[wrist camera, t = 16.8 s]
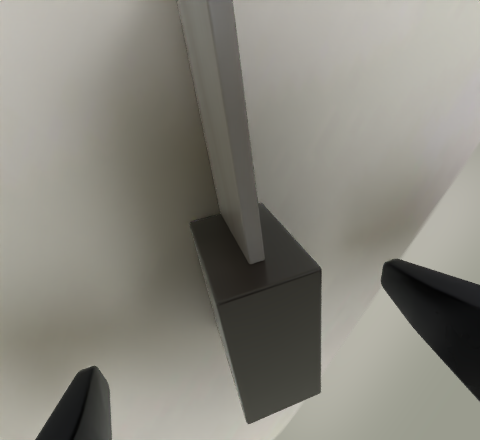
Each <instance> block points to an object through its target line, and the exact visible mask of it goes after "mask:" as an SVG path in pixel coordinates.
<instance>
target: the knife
mask: <svg viewBox="0 0 480 440" xmlns="http://www.w3.org/2000/svg"><path fill="white" fill-rule="evenodd" d="M177 5H178V9H179V14H180V19H181V24H182V29H183V34H184V39H185V44H186V49H187V53H188V58H189V63H190V68H191V73H192V78H193V83H194V88H195V92H196V97H197V102H198V107H199V112H200V117H201V122H202V127H203V132H204V136H205V141H206V146H207V151H208V156H209V161H210V166H211V171H212V175H213V180H214V185H215V190H216V195H217V200H218V205H219V210H220V213H221V214H218V215H215V216H211V217H207V218H204V219H200V220H197V221H193V222H190V229H191V232H192V236H193V240H194V243H195V247H196V250H197V254H198V258H199V261H200V265H201V269H202V272H203V276H204V279H205V283H206V287H207V290H208V294H209V298H210V301H211V305H212V309H213V312H214V316H215V319H216V323H217V327H218V330H219V334H220V337H221V340H222V343H223V347H224V350H225V353H226V356H227V360H228V363H229V366H230V370H231V373H232V376H233V379H234V383H235V386H236V389H237V392H238V396H239V399H240V402H241V406H242V409H243V412H244V415H245V419H246V422H247V423H248V424H251V423H253V422H255V421H258V420H260V419H262V418H265V417H267V416H269V415H271V414H274V413H276V412H278V411H281V410H283V409H285V408H287V407H290V406H292V405H294V404H297V403H299V402H301V401H303V400H306V399H308V398H310V397H313V396H315V395H317V394H319V393H320V392H321V268H320V266H319V265H318V264H317V263H316V262H315V261H314V260H313V259H312V257H311V256H310V255H309V254H308V253H307V252H306V251H305V250H304V249H303V248H302V246H301V245H300V244H299V243H298V242H297V241H296V240H295V239H294V238H293V237H292V235H291V234H290V233H289V232H288V231H287V230H286V229H285V228H284V227H283V226H282V225H281V223H280V222H279V221H278V220H277V219H276V218H275V217H274V216H273V215H272V214H271V212H270V211H269V210H268V209H267V208H266V207H265V206H264V205H263V204H262V203H258V200H257V192H256V183H255V175H254V167H253V159H252V151H251V143H250V135H249V127H248V119H247V111H246V103H245V95H244V87H243V79H242V71H241V63H240V55H239V47H238V38H237V30H236V22H235V14H234V6H233V0H177Z"/></svg>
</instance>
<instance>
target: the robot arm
mask: <svg viewBox="0 0 480 440" xmlns="http://www.w3.org/2000/svg"><path fill="white" fill-rule="evenodd" d="M381 284H382V286H383V288H384V290H385V291H386V292H387V294H388V295H389V296H390V298H391V299H392V300H393V302H394V303H395V304H396V306H397V307H398V308H399V309H400V311H401V312H402V314H403V315H404V316H405V318H406V319H407V320H408V321H409V323H410V324H411V325H412V327H413V328H414V329H415V330H416V331H417V333H418V334H419V335H420V336H421V337H422V338H423V339H424V340H425V341H426V343H427V344H428V345H429V346H430V347H431V348H432V349H433V350H434V351H435V352H436V354H437V355H438V356H439V357H440V358H441V359H442V360H443V361H444V363H445V364H446V365H447V366H448V367H449V368H450V369H451V370H452V371H453V372H454V374H455V375H456V376H457V377H458V378H459V379H460V380H461V381H462V383H464V385H465V386H466V387H467V388H468V389H469V390H470V391H471V392H472V394H473V395H474V396H475V397H476V398H477V399H478V400H479V401H480V285H478V284H475V283H472V282H468V281H465V280H462V279H459V278H456V277H453V276H450V275H447V274H444V273H441V272H437V271H434V270H431V269H428V268H425V267H422V266H418V265H415V264H412V263H409V262H406V261H403V260H400V259H392V260H390V261H387V262H385V263H384V264H383V269H382V276H381ZM35 440H112V430H111V408H110V389H109V384H108V382H107V380H106V379H105V377H104V376H103V374H102V373H101V371H100V370H99V369H98V367H96V366H91V367H89V368H86V369H83V370H81V371H79V372H78V373H77V374H76V376H75V377H74V379H73V381H72V382H71V384H70V385H69V387H68V389H67V390H66V392H65V393H64V395H63V396H62V398H61V400H60V401H59V403H58V404H57V406H56V408H55V409H54V411H53V412H52V414H51V416H50V417H49V419H48V420H47V422H46V423H45V425H44V427H43V428H42V430H41V431H40V433H39V435H38V436H37V438H36V439H35Z"/></svg>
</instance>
